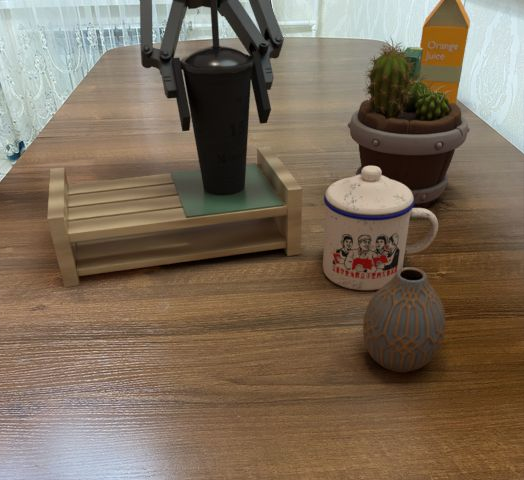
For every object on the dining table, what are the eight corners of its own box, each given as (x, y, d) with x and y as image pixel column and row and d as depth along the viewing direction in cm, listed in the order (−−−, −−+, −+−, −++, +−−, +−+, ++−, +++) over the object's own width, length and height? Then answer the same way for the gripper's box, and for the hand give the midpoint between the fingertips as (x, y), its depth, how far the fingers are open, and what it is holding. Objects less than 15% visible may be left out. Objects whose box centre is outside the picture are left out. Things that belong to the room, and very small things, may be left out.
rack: (64, 230, 76) (50, 168, 71) (269, 205, 81) (269, 146, 76) (64, 287, 65) (47, 218, 60) (300, 254, 70) (302, 188, 65)
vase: (362, 332, 58) (371, 250, 53) (437, 340, 57) (453, 257, 51) (356, 378, 53) (365, 292, 47) (438, 388, 51) (457, 300, 46)
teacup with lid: (322, 293, 64) (328, 186, 56) (318, 251, 71) (323, 152, 64) (438, 293, 63) (458, 186, 56) (422, 251, 70) (438, 151, 63)
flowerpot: (424, 170, 90) (447, 18, 78) (475, 213, 78) (511, 42, 66) (330, 180, 88) (338, 25, 76) (367, 226, 76) (384, 51, 64)
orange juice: (410, 114, 112) (426, -11, 100) (414, 101, 118) (429, -18, 106) (454, 117, 110) (476, -10, 98) (455, 104, 117) (476, -17, 105)
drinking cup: (177, 190, 70) (156, -10, 58) (218, 169, 75) (206, -19, 63) (230, 206, 66) (219, -4, 54) (269, 183, 71) (268, -14, 59)
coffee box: (397, 127, 106) (406, 45, 98) (413, 128, 105) (424, 45, 97) (388, 142, 100) (398, 55, 92) (406, 144, 99) (417, 56, 91)
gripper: (86, -105, 60) (123, 110, 57) (286, -110, 64) (330, 91, 61) (94, -45, 67) (128, 148, 64) (273, -53, 71) (312, 129, 68)
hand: (226, 120), depth 63 cm, fingers closed on drinking cup, 8 cm apart
